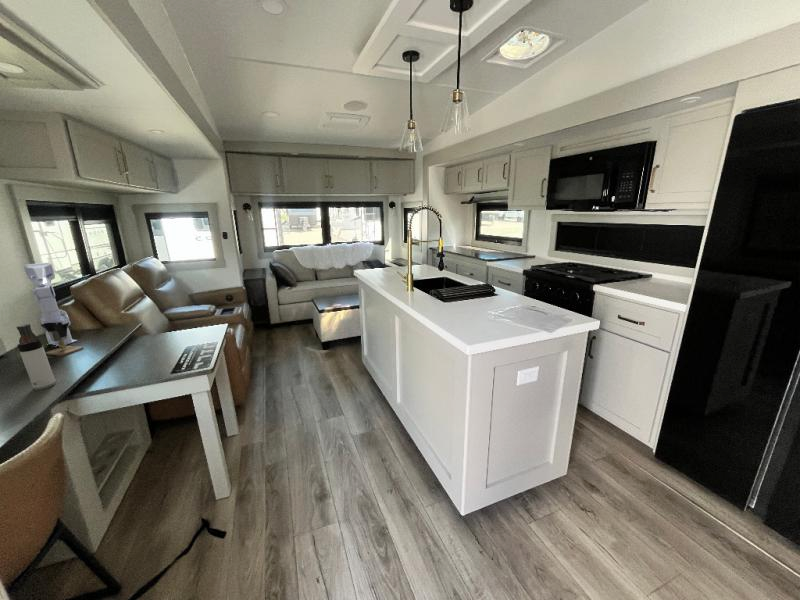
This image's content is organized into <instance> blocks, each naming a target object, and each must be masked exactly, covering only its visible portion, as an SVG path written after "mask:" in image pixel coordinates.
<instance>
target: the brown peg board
mask: <svg viewBox="0 0 800 600" xmlns="http://www.w3.org/2000/svg"><path fill="white" fill-rule="evenodd" d="M58 344H59V347H57V348H54V349H52V350H49V351H45V354H49V355H48V356H52V355H57V356H56V357H62V356H63V357H65V355H66V356H67V355H71V354H74V353H76V352H79V351H81V349H82V350H84V347H83V346H76V345H74V346H72V345H65V344H64V341H59V342H58ZM78 350H79V351H78ZM73 352H74V353H73Z"/></svg>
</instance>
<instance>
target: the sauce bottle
mask: <svg viewBox="0 0 800 600" xmlns="http://www.w3.org/2000/svg"><path fill="white" fill-rule="evenodd" d="M16 330H18V333H19V335H20V337H19V340H18V343H19V344H21V343H26V342H31V341H33V340H41V339H40V338H39V337H38V336H37V335H36V334H35V333H34V332H33V331H32V328H31V324H30V323H24V324H19V325H17V326H16Z"/></svg>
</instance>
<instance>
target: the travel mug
mask: <svg viewBox="0 0 800 600" xmlns="http://www.w3.org/2000/svg"><path fill="white" fill-rule="evenodd" d="M16 346H17V349H18V351H19V355H20V357H21V358H22V359H21V360H22V361H23V364H24V367H25V369H26V373H27V375H28V378H29V381H30V382H31V385H32V388H33V390H35V391H41V390H44V389H48V388H50V386H51V387H53V386H54V385H56V382H57V381H56V379H55V377H54V374H53V370H52V367H51V365H50V362H49V360H48V359H49V358H48V355H46V354H45V352H46V351H45V348H44V345H43V343H42V341H41V339H40V340H33V341H31V342H26V343H21V344H20V343H19V344H17V345H16ZM52 385H53V386H52Z"/></svg>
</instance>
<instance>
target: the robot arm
mask: <svg viewBox="0 0 800 600" xmlns="http://www.w3.org/2000/svg"><path fill="white" fill-rule="evenodd" d="M23 268H24V272H25V275H26V276H27V278H28V280H30V282H32V283H33V290H32V292H33V295H34V297H35V299H36V301H37V303H38V305H39V308H40V310H41V313H42V314H41V315H40V318H39V320H40V323H41V324H40V327H42V328H43V329H44V330H46V331H45V336H46V340H47V342H48V344H53V345H56V346H55V347H57V346H59V344H58V342H59V341H52V340H51V337H50V334H49V331H50V330H53V329H56V330H57V331H58V333H59V335H60V337H61V338H63V337H66V336H67V335H68V338H67V339H64V340H61V341H64V344H65V345H66V346H68V345H69V344H72V343H75V342H78V339H73V338H72V335H71V331H70V328H69V326H70V325H71V320H70V317H69V315H68V313H67V311H65V310H63V309H60V308H59V307H58V303H57V300H56V293H55V289H54V287H53V285H52V281H53V280H54V279H56V274H55V271H54V268H53V264H52V262H50V261H47V262H40V263H39V262H38V263H27V264H26V263H25V264H24V265H23Z"/></svg>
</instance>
